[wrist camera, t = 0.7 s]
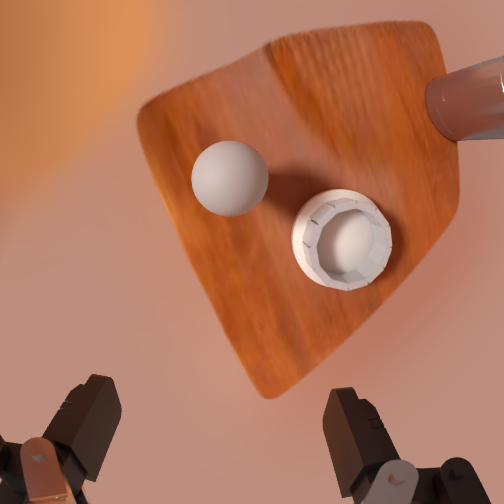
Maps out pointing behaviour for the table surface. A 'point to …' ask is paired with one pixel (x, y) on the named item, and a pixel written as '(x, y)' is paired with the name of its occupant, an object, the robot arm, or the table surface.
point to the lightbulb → (230, 178)
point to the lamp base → (341, 239)
